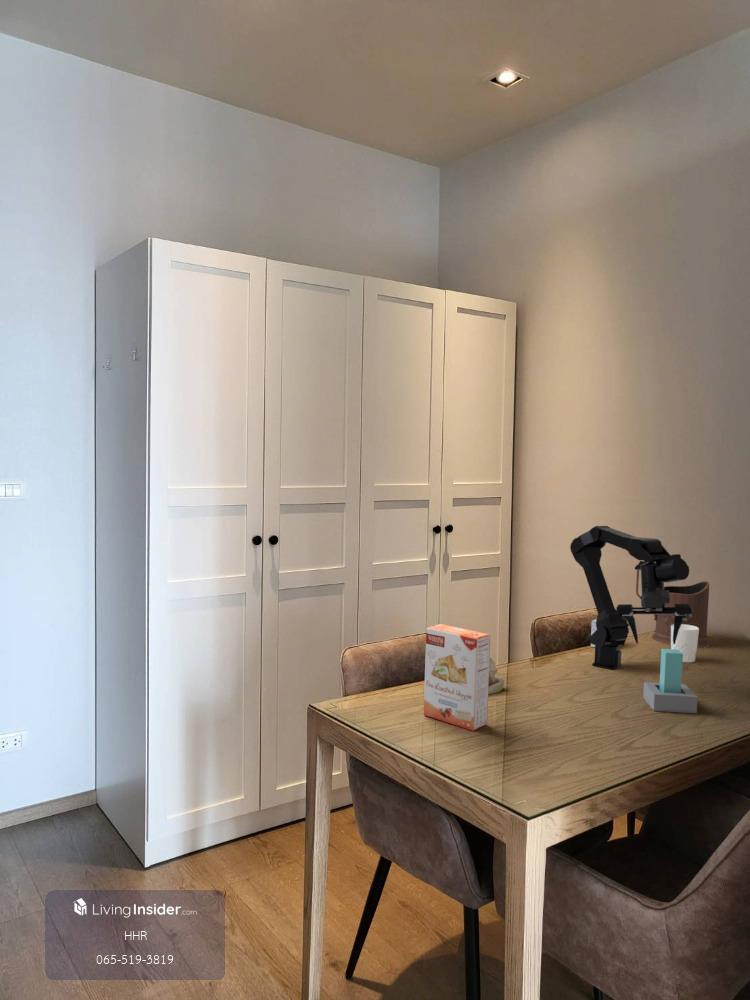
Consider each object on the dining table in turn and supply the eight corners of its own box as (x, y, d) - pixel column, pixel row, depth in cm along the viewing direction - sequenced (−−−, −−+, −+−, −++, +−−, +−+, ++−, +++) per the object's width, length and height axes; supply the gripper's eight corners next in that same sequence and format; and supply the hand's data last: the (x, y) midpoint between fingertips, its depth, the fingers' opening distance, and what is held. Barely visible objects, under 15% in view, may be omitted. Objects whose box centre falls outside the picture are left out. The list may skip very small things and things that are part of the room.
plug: (663, 705, 187) (665, 652, 186) (658, 700, 191) (661, 648, 190) (680, 706, 187) (682, 653, 186) (675, 701, 191) (678, 649, 190)
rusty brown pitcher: (716, 650, 244) (720, 572, 243) (637, 644, 249) (641, 568, 248) (703, 637, 263) (707, 564, 261) (630, 631, 267) (633, 560, 266)
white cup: (663, 657, 234) (665, 625, 234) (682, 655, 238) (684, 623, 237) (683, 664, 227) (685, 630, 227) (703, 661, 230) (704, 628, 230)
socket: (653, 710, 185) (654, 694, 184) (643, 697, 195) (644, 682, 194) (696, 713, 184) (697, 696, 183) (684, 699, 194) (684, 684, 193)
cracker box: (422, 716, 177) (424, 626, 175) (437, 710, 181) (440, 622, 180) (472, 732, 167) (476, 637, 166) (488, 725, 172) (491, 633, 171)
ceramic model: (463, 699, 190) (465, 659, 190) (440, 686, 200) (441, 648, 200) (510, 692, 197) (511, 653, 196) (484, 680, 207) (486, 643, 206)
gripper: (613, 580, 203) (615, 640, 199) (689, 579, 196) (693, 641, 192) (617, 587, 213) (619, 644, 209) (690, 586, 206) (693, 645, 202)
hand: (655, 643), depth 202 cm, fingers open, 9 cm apart
